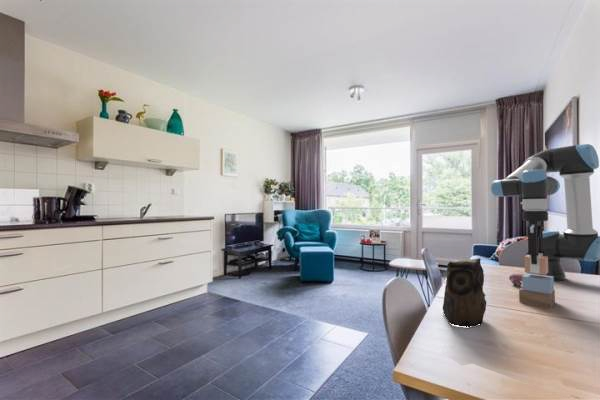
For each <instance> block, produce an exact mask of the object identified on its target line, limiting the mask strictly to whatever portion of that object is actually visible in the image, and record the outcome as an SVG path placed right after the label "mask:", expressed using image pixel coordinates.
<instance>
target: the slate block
mask: <svg viewBox="0 0 600 400" xmlns="http://www.w3.org/2000/svg"><path fill="white" fill-rule="evenodd" d="M521 283H522V285H521V286H522V287H521V288H522V290H527V291H533V292H539V293H545V294H551V293H552V292H553V291H554V290H555V280H554V277H553V276H545V275H538V274H530V273H526V272H525V274H523V276H522V281H521Z"/></svg>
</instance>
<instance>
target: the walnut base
mask: <svg viewBox="0 0 600 400" xmlns="http://www.w3.org/2000/svg"><path fill="white" fill-rule="evenodd" d="M518 293H519V294H518V296H519V297H518V299H519V300H518V301H519V303H522V304H526V305H532V306H537V307H543V308H547V309H552V307H553V306H554V305H555V303H556V291H555V289H554V291H553V292H552V293H551V294H545V293H539V292H533V291H527V290H522V287H520V288H519V289H518Z"/></svg>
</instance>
